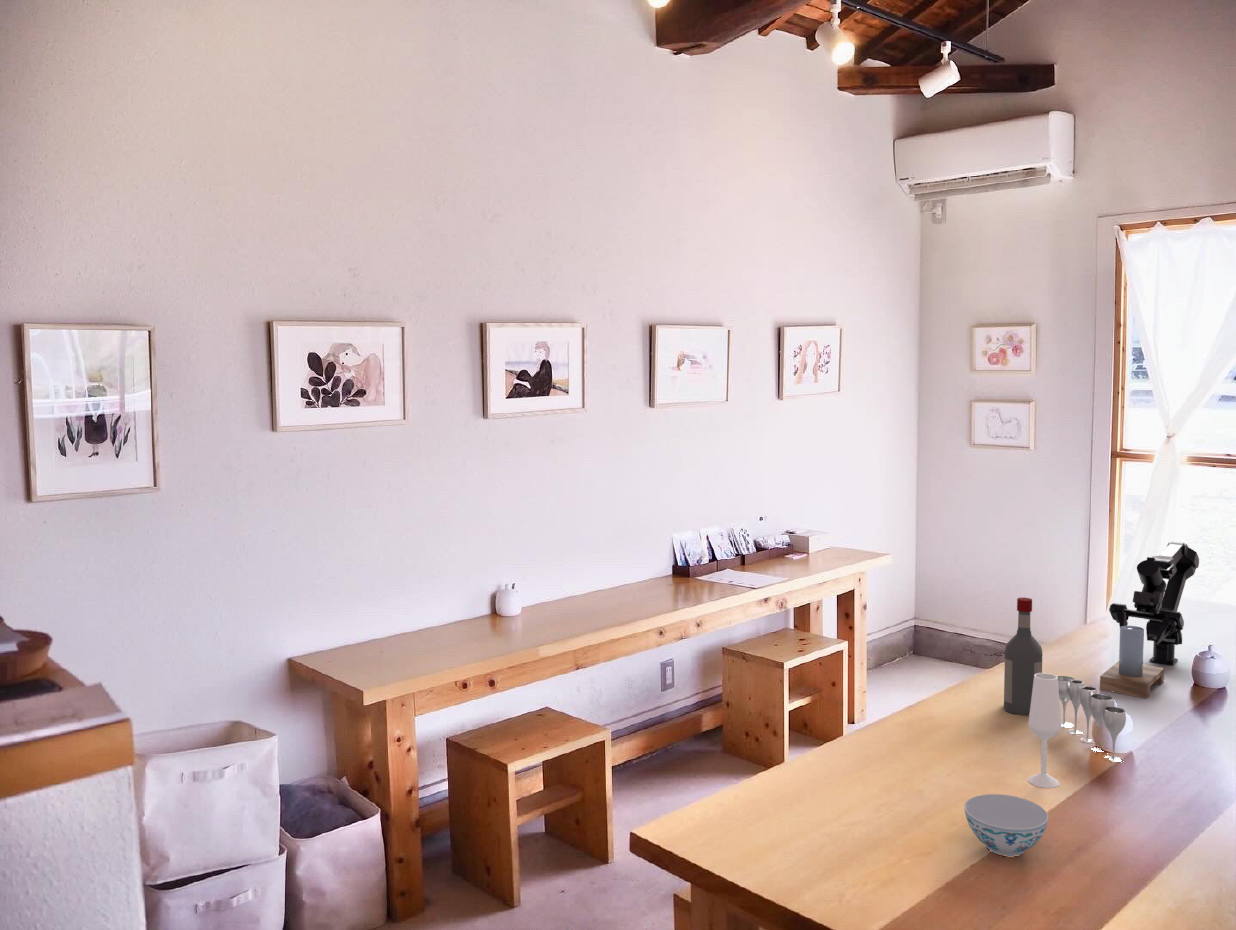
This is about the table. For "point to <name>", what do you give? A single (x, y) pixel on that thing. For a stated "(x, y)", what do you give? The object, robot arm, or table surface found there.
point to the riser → (1131, 681)
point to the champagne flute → (1044, 721)
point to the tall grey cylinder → (1131, 651)
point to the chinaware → (1006, 822)
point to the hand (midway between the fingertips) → (1138, 641)
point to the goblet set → (1091, 709)
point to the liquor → (1021, 663)
